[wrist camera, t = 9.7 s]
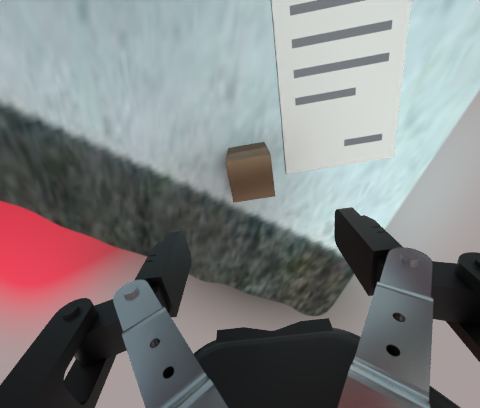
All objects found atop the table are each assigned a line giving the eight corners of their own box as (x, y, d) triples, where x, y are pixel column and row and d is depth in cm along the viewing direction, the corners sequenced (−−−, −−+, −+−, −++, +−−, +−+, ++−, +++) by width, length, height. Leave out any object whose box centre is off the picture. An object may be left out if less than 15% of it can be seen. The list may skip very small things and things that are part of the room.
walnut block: (228, 148, 26) (225, 162, 21) (264, 142, 26) (270, 154, 21) (235, 181, 28) (233, 202, 23) (268, 176, 28) (275, 196, 22)
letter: (286, 173, 28) (286, 173, 27) (268, -29, 20) (269, -30, 20) (392, 156, 27) (393, 157, 26) (416, -61, 19) (418, -63, 19)
